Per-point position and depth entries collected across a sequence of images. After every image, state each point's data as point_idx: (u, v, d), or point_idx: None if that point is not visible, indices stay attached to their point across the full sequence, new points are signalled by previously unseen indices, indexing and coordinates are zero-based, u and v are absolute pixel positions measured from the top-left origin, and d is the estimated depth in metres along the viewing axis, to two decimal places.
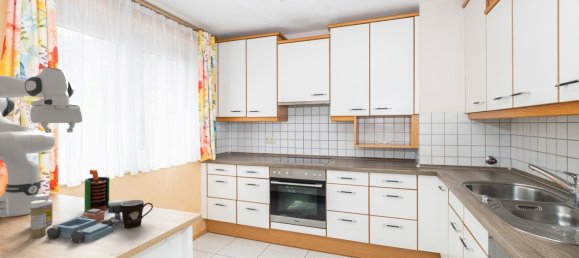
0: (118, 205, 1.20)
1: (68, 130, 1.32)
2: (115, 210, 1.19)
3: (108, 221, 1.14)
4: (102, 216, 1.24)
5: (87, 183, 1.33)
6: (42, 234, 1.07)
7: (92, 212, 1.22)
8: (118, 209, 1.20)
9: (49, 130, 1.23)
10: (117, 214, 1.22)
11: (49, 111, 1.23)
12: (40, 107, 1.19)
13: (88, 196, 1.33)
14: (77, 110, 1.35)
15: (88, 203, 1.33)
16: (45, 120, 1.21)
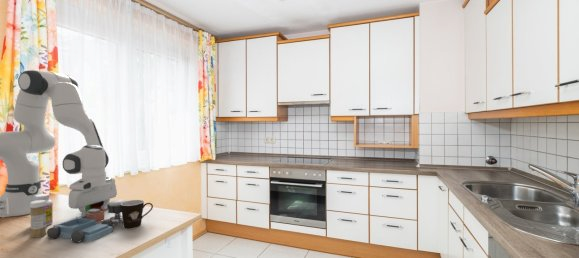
0: (118, 205, 1.20)
1: (103, 207, 1.27)
2: (115, 210, 1.19)
3: (108, 221, 1.14)
4: (102, 216, 1.24)
5: None
6: (42, 234, 1.07)
7: (92, 212, 1.22)
8: (118, 209, 1.20)
9: (86, 213, 1.19)
10: (117, 214, 1.22)
11: (87, 193, 1.18)
12: (79, 193, 1.14)
13: None
14: (113, 185, 1.30)
15: None
16: (83, 205, 1.16)
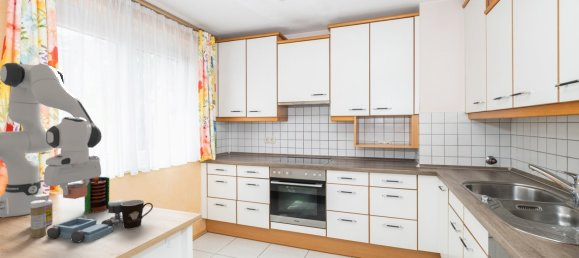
0: (118, 205, 1.20)
1: None
2: (115, 210, 1.19)
3: (108, 221, 1.14)
4: (85, 191, 1.11)
5: None
6: (42, 234, 1.07)
7: (73, 186, 1.09)
8: (118, 209, 1.20)
9: (68, 191, 1.07)
10: (117, 214, 1.22)
11: (65, 170, 1.05)
12: (56, 168, 1.01)
13: (88, 196, 1.33)
14: (96, 163, 1.17)
15: (88, 203, 1.33)
16: (61, 182, 1.03)
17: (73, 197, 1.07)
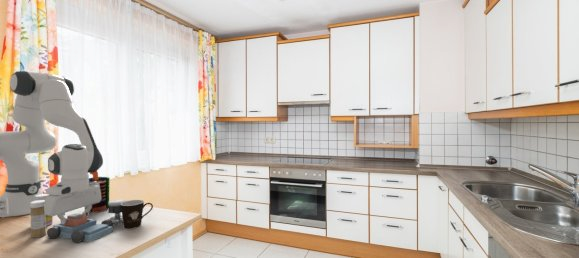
0: (118, 205, 1.20)
1: (84, 214, 1.14)
2: (115, 210, 1.19)
3: (108, 221, 1.14)
4: (85, 222, 1.11)
5: None
6: (42, 234, 1.07)
7: (73, 217, 1.09)
8: (118, 209, 1.20)
9: (65, 221, 1.06)
10: (117, 214, 1.22)
11: (66, 199, 1.05)
12: (56, 198, 1.01)
13: None
14: (97, 189, 1.17)
15: None
16: (61, 212, 1.04)
17: None
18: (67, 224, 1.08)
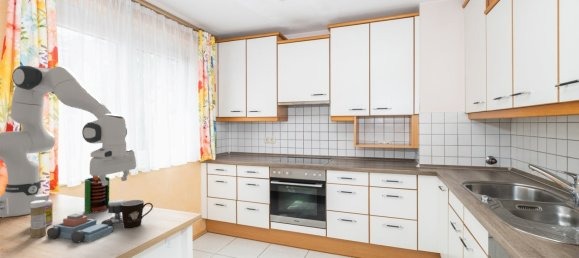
0: (118, 205, 1.20)
1: (122, 178, 1.25)
2: (115, 210, 1.19)
3: (108, 221, 1.14)
4: (85, 222, 1.11)
5: (87, 183, 1.33)
6: (42, 234, 1.07)
7: (73, 217, 1.09)
8: (118, 209, 1.20)
9: (106, 182, 1.16)
10: (117, 214, 1.22)
11: (107, 162, 1.16)
12: (100, 160, 1.12)
13: (88, 196, 1.33)
14: (132, 156, 1.28)
15: (88, 203, 1.33)
16: (104, 173, 1.14)
17: None
18: (67, 224, 1.08)
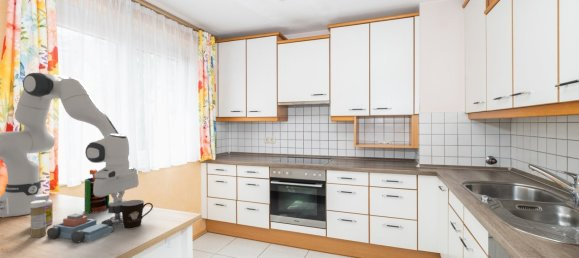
0: (118, 205, 1.20)
1: None
2: (115, 210, 1.19)
3: (108, 221, 1.14)
4: (85, 222, 1.11)
5: (87, 183, 1.33)
6: (42, 234, 1.07)
7: (73, 217, 1.09)
8: (118, 209, 1.20)
9: (118, 200, 1.21)
10: (117, 214, 1.22)
11: (111, 182, 1.17)
12: (104, 181, 1.13)
13: (88, 196, 1.33)
14: (135, 175, 1.29)
15: (88, 203, 1.33)
16: (107, 193, 1.15)
17: None
18: (67, 224, 1.08)
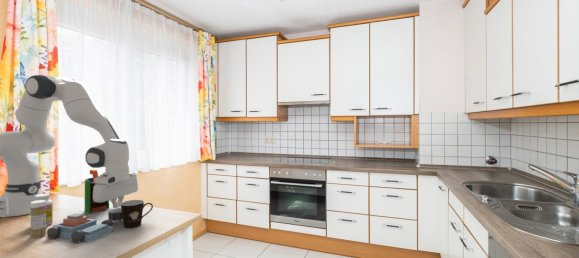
0: (118, 212, 1.20)
1: None
2: (115, 217, 1.19)
3: (108, 221, 1.14)
4: (85, 222, 1.11)
5: (87, 183, 1.33)
6: (42, 234, 1.07)
7: (73, 217, 1.09)
8: (118, 216, 1.20)
9: (117, 205, 1.22)
10: None
11: (110, 188, 1.17)
12: (104, 187, 1.13)
13: (88, 196, 1.33)
14: (134, 180, 1.29)
15: (88, 203, 1.33)
16: (107, 199, 1.16)
17: None
18: (67, 224, 1.08)
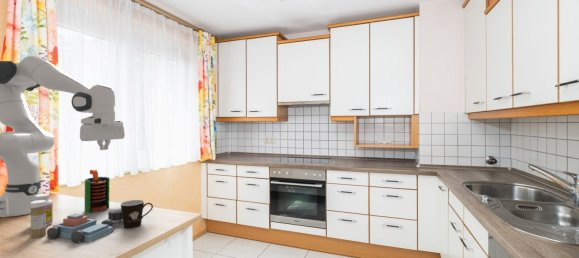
0: (118, 212, 1.20)
1: None
2: (115, 217, 1.19)
3: (108, 221, 1.14)
4: (85, 222, 1.11)
5: (87, 183, 1.33)
6: (42, 234, 1.07)
7: (73, 217, 1.09)
8: (118, 216, 1.20)
9: (104, 147, 1.28)
10: None
11: (97, 129, 1.24)
12: (90, 126, 1.20)
13: (88, 196, 1.33)
14: (121, 127, 1.36)
15: (88, 203, 1.33)
16: (93, 139, 1.22)
17: None
18: (67, 224, 1.08)
